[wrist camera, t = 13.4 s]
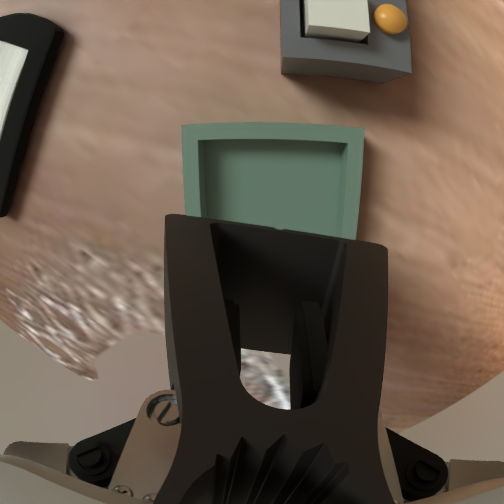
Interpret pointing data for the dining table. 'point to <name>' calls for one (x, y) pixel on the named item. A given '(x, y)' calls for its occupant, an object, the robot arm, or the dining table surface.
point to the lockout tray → (275, 175)
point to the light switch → (21, 87)
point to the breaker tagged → (335, 19)
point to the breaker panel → (349, 46)
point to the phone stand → (277, 341)
